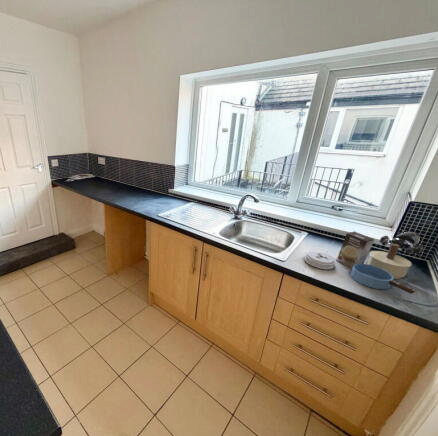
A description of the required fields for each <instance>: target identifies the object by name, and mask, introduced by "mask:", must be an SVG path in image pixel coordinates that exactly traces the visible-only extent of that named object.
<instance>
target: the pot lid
mask: <svg viewBox="0 0 438 436" xmlns="http://www.w3.org/2000/svg"><path fill="white" fill-rule="evenodd" d="M399 249H400V248H399V245H397V244H393V243H392V244H391V246H390V245H389V248H388V251H382V250H370V251H369V253H368V255H369V257H370V256H371V257H372V258H373V259H375V260H377V261H379V262H382V263H385V264H388V265H391V266H396V267H409V268H410V267H412V265H413V264H412V262H411V261H410V260H409V259H407V258H405V257H404V256H401V255H398V254H397V253H398V250H399Z"/></svg>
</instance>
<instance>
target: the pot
mask: <svg viewBox="0 0 438 436" xmlns="http://www.w3.org/2000/svg"><path fill="white" fill-rule="evenodd" d="M366 264H367V265H372V266H375V267H379V268H381V269H383V270H386V271H387V272H389V273H391V274H392V276H393V277H394V278H393V280H402V279H403V278H404V277H406V276H407V274H408V271H409V269H410V267H396V266H391V265H388V264H385V263H382V262H379V261H377V260H375V259H373V258H372V257H371V256H370V255H369V257H368V260H367V262H366Z"/></svg>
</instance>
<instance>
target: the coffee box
mask: <svg viewBox="0 0 438 436" xmlns="http://www.w3.org/2000/svg"><path fill="white" fill-rule="evenodd" d="M374 242H375V239H374V238H373V237H370V236H367V235H365V234H362V233H360V232H357V231H350V232H347V233H346V234H345V236H344V240H343V241H342V245H341V247H340V250H339V252H338V255H337V258H336V259H335V261H336V262H338V263H341V264H343V265H344V266H347V267H348V268H350V269H352V268H353V266H354V265H355V264H365V262H366V260H367V257H368V255H369V253H370V252H371V249H372V246H373V244H374Z"/></svg>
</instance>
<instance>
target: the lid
mask: <svg viewBox="0 0 438 436" xmlns="http://www.w3.org/2000/svg"><path fill="white" fill-rule="evenodd" d="M304 261H305V262H306V263H307V264H308V265H310V266H312V267H314V268H317V269H322V270H333V269H334V268H335V265H336V263H337V261H336V259H335V258H334V257H333V256H332V255H330V254H328V253H326V252H323V251H319V250H309V251H306V253H305V256H304Z"/></svg>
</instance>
